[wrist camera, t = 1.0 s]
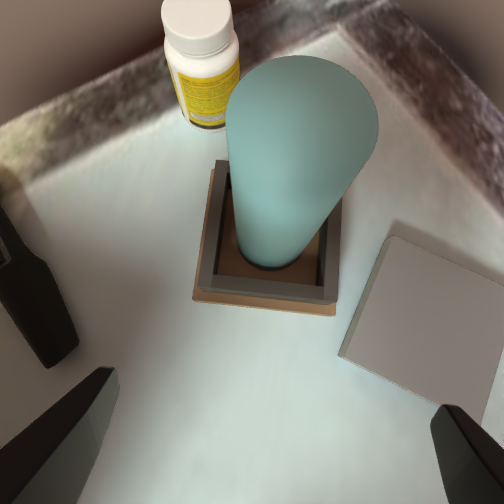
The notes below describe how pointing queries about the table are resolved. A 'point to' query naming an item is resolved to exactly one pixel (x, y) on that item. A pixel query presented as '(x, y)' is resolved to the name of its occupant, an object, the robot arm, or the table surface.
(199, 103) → the supplement bottle
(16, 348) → the table surface
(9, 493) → the robot arm
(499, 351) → the pad
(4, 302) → the electric trimmer
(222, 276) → the socket
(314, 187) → the peg
